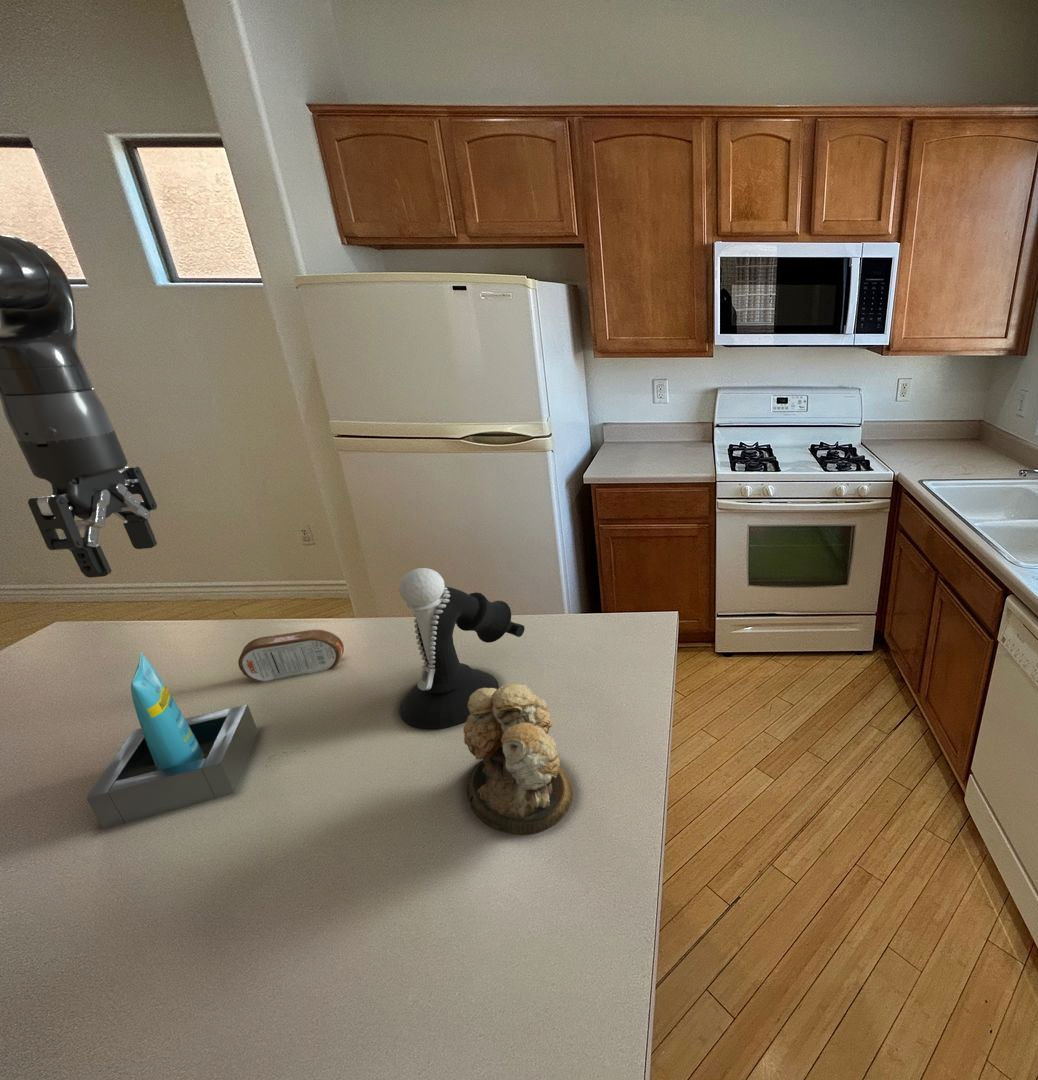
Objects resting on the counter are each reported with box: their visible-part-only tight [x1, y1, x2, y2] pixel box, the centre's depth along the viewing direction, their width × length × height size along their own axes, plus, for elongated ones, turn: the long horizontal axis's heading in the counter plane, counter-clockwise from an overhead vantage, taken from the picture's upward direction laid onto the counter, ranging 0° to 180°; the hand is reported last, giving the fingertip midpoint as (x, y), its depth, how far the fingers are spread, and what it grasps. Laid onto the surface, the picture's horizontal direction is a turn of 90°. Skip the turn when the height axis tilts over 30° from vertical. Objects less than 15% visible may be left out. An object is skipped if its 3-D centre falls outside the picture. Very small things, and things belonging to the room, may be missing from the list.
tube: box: [130, 651, 207, 771], centre depth 73 cm, size 7×5×19 cm, turn 43°
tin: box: [237, 629, 345, 683], centre depth 97 cm, size 15×3×8 cm, turn 111°
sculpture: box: [398, 567, 526, 731], centre depth 92 cm, size 15×24×25 cm, turn 151°
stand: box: [85, 704, 259, 830], centre depth 76 cm, size 13×13×6 cm
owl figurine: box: [463, 683, 574, 835], centre depth 73 cm, size 18×12×17 cm, turn 56°
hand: (124, 560), depth 69 cm, fingers open, 8 cm apart
